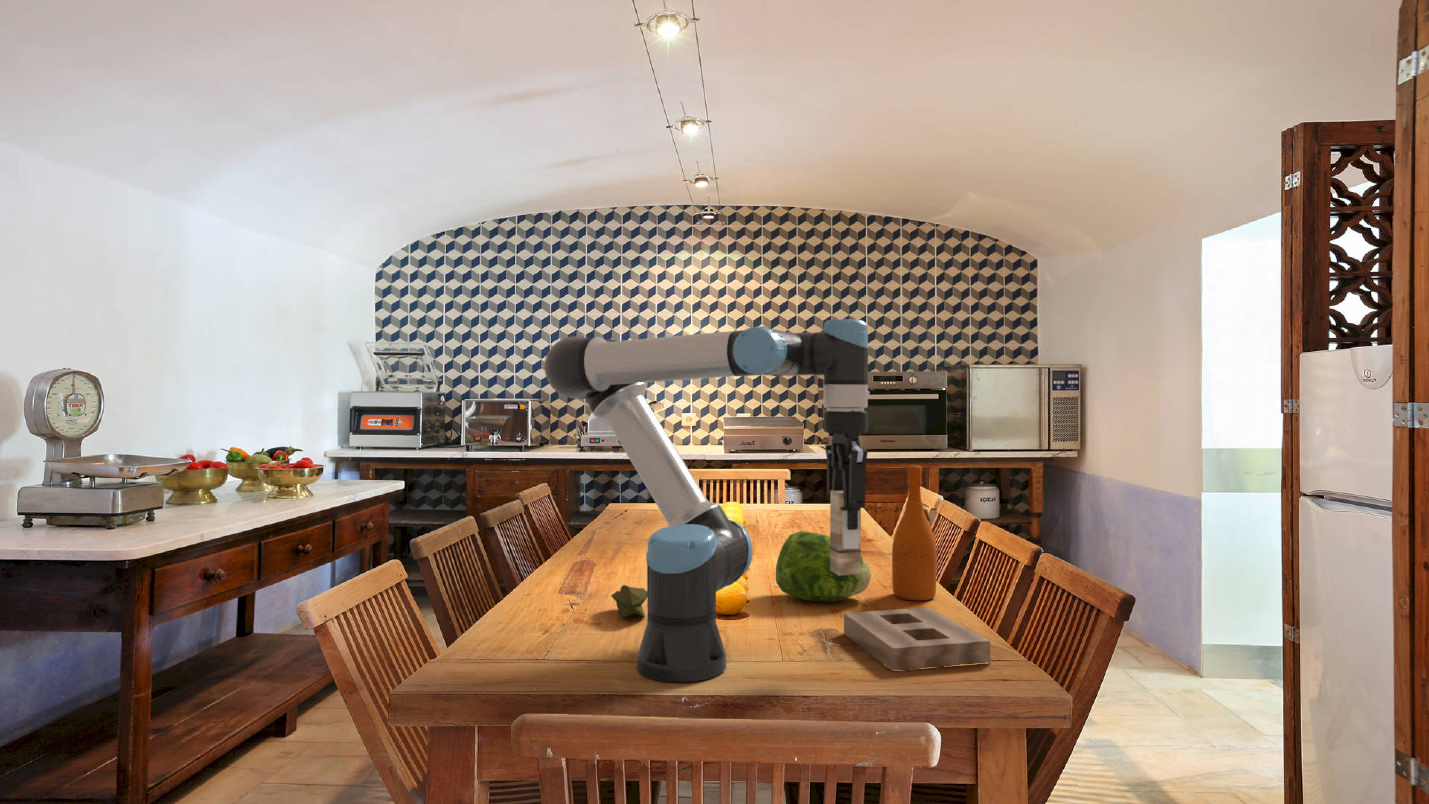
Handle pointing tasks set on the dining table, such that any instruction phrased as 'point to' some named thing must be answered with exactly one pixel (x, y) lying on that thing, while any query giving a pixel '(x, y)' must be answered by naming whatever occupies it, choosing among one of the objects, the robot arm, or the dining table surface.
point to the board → (915, 638)
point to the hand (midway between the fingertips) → (845, 545)
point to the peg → (839, 557)
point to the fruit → (630, 600)
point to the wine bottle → (914, 547)
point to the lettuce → (815, 570)
